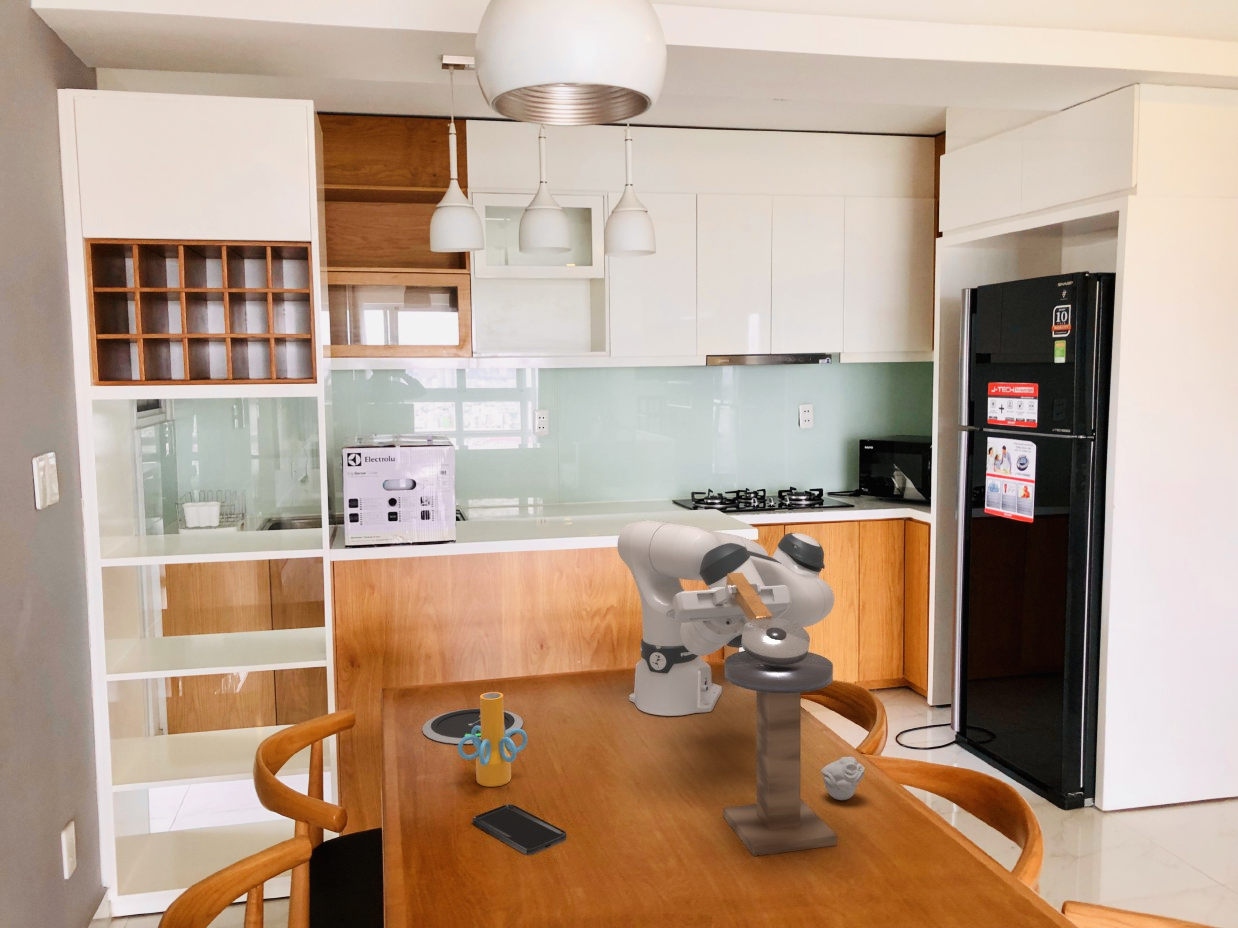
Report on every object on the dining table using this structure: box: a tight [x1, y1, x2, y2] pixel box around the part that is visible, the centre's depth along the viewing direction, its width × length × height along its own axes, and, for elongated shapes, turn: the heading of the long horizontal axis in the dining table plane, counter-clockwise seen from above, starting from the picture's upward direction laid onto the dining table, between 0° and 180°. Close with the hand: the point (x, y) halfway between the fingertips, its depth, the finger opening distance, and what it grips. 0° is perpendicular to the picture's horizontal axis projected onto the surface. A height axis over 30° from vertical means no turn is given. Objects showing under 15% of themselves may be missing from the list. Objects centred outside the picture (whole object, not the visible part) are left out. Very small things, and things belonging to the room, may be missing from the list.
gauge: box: [421, 708, 524, 746], centre depth 191 cm, size 20×20×1 cm
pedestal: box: [722, 650, 838, 857], centre depth 144 cm, size 16×16×26 cm
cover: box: [726, 573, 811, 665], centre depth 149 cm, size 24×10×2 cm, turn 13°
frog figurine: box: [820, 756, 866, 801], centre depth 155 cm, size 6×7×7 cm
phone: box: [472, 803, 567, 856], centre depth 146 cm, size 8×1×15 cm
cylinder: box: [457, 691, 528, 788], centre depth 164 cm, size 12×10×15 cm
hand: (744, 588), depth 155 cm, fingers closed on cover, 3 cm apart
